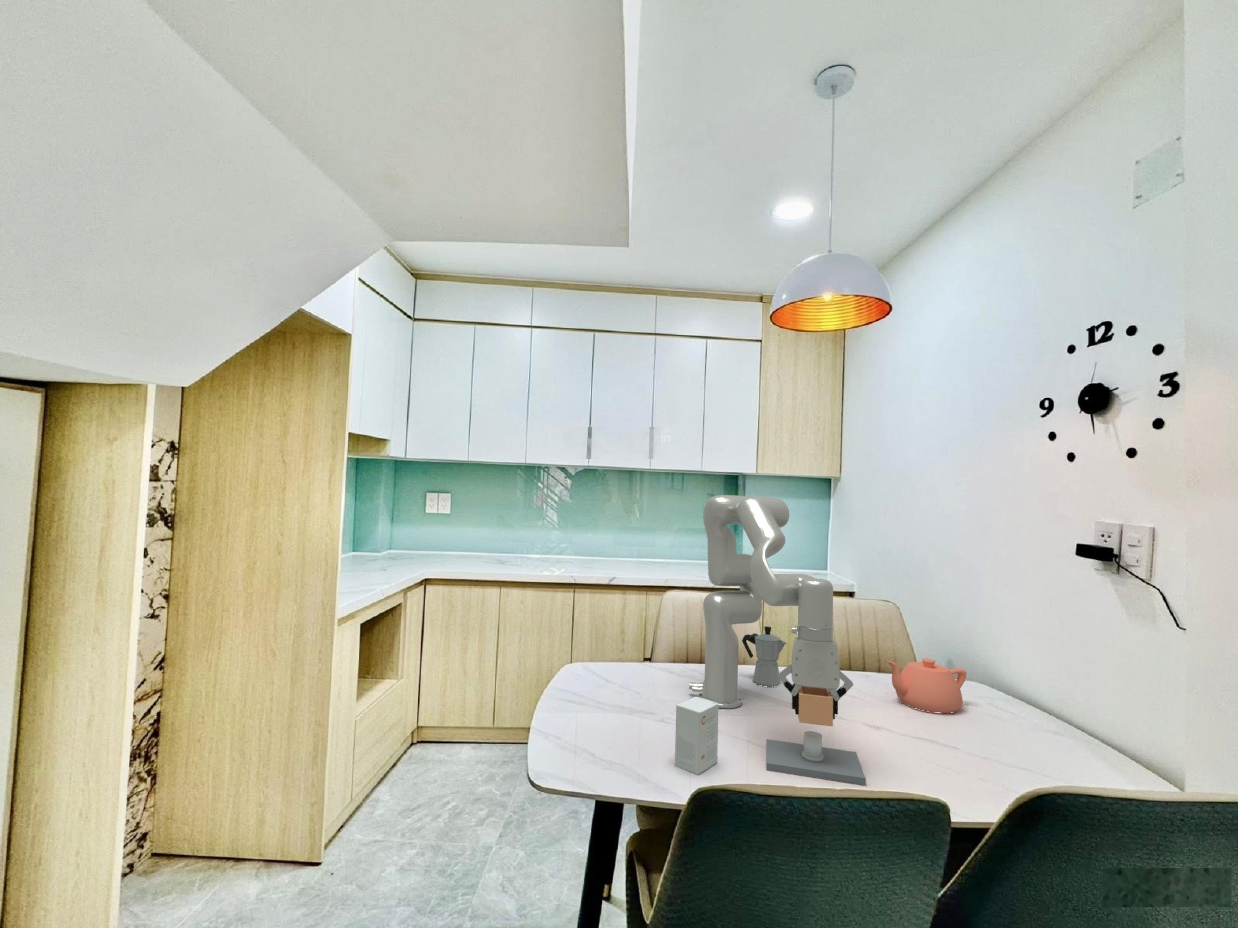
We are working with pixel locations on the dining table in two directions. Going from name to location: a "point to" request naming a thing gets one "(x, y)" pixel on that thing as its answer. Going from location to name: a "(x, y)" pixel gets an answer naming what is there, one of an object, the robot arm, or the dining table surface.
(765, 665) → the coffee maker
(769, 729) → the dining table surface
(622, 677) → the dining table surface
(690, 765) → the small box
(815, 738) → the grey plate with peg
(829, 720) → the collar
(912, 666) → the teapot
